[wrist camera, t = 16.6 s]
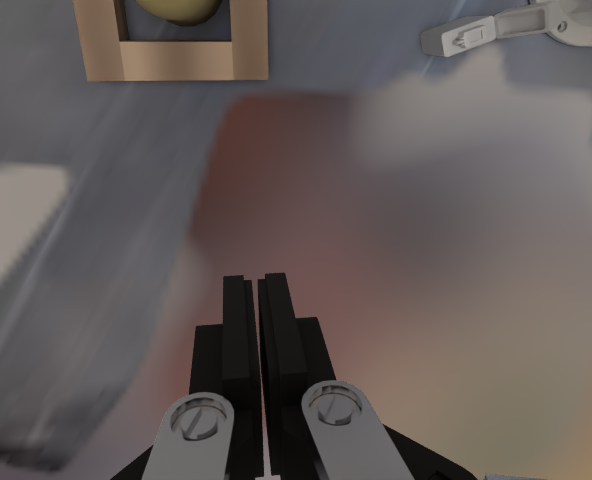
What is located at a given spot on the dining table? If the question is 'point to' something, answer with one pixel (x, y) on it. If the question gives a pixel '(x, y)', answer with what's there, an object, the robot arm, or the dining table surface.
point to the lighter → (490, 28)
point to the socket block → (171, 47)
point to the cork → (182, 10)
